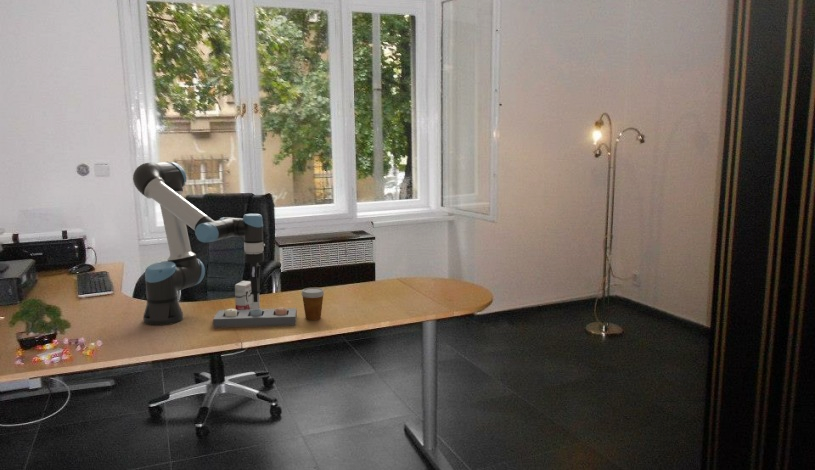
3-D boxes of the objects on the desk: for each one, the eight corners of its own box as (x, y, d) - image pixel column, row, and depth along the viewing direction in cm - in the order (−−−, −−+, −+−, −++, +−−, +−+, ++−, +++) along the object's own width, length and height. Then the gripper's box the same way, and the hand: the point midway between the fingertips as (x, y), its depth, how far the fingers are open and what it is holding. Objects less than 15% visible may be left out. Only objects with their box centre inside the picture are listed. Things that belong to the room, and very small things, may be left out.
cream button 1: (224, 324, 239) (224, 311, 238) (226, 320, 243) (225, 308, 242) (236, 323, 239) (235, 311, 238) (237, 320, 244) (237, 308, 243)
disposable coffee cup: (305, 322, 242) (305, 294, 240) (298, 316, 251) (298, 288, 249) (327, 319, 247) (327, 291, 245) (320, 313, 255) (319, 286, 253)
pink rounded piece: (275, 322, 241) (274, 310, 240) (276, 319, 246) (275, 307, 245) (286, 322, 242) (286, 310, 241) (287, 318, 246) (287, 306, 246)
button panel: (213, 327, 234) (213, 319, 234) (218, 318, 246) (218, 310, 246) (295, 325, 239) (295, 316, 238) (296, 316, 251) (296, 308, 250)
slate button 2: (249, 323, 240) (249, 311, 239) (251, 319, 244) (250, 307, 244) (261, 322, 241) (261, 310, 240) (262, 319, 245) (262, 307, 244)
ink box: (245, 312, 255) (244, 285, 254) (235, 311, 256) (234, 285, 254) (254, 306, 264) (253, 280, 262) (244, 305, 265) (243, 280, 263)
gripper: (262, 255, 232) (264, 313, 236) (265, 249, 245) (267, 304, 248) (242, 255, 231) (244, 313, 235) (246, 249, 244) (248, 304, 247)
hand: (256, 308), depth 242 cm, fingers closed
